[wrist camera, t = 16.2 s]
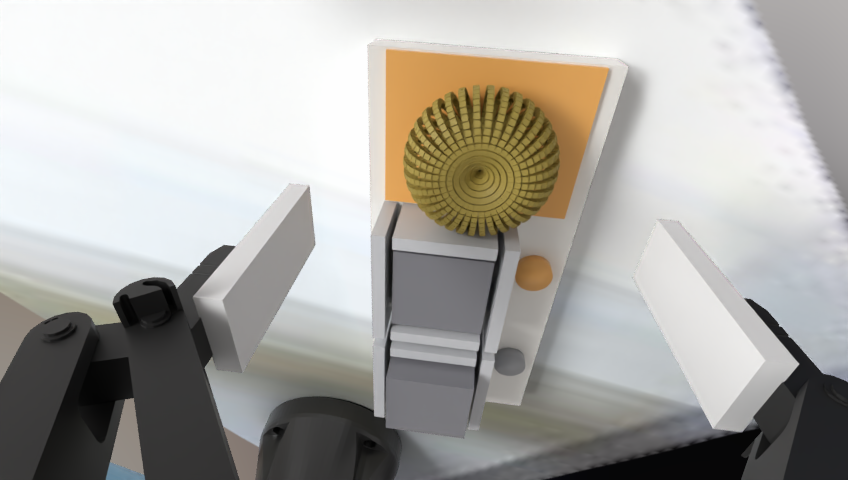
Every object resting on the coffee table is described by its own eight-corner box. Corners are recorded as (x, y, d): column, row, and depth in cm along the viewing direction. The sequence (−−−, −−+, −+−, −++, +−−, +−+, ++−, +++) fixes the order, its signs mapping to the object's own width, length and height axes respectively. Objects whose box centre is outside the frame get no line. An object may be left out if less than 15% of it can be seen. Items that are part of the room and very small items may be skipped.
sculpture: (598, 126, 18) (527, 266, 22) (579, 99, 21) (521, 226, 25) (417, 75, 17) (384, 228, 22) (427, 57, 21) (396, 193, 25)
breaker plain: (465, 396, 33) (464, 438, 30) (393, 387, 33) (385, 427, 30) (474, 347, 30) (474, 389, 27) (395, 337, 30) (386, 378, 27)
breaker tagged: (480, 297, 29) (480, 334, 26) (400, 288, 30) (391, 323, 27) (492, 229, 26) (494, 263, 23) (402, 219, 26) (393, 251, 23)
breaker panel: (518, 386, 38) (523, 450, 33) (378, 368, 38) (363, 428, 33) (617, 58, 22) (658, 87, 17) (375, 38, 22) (346, 60, 18)
